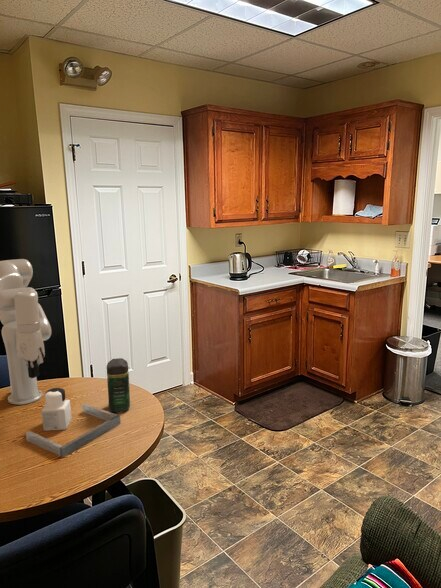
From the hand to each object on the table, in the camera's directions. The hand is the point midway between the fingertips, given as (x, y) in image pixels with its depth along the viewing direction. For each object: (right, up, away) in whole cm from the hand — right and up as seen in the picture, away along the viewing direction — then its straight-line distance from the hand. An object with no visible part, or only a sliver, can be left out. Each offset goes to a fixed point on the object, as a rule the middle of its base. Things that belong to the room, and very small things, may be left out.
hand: (34, 376), depth 158 cm
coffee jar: (+28, -14, +10) cm, 33 cm away
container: (+9, -17, -2) cm, 19 cm away
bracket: (+18, -18, -8) cm, 26 cm away
